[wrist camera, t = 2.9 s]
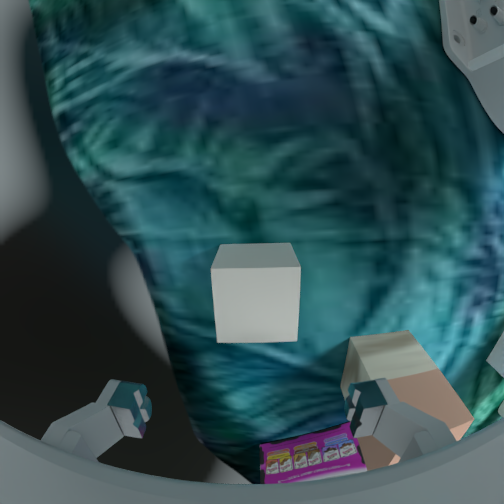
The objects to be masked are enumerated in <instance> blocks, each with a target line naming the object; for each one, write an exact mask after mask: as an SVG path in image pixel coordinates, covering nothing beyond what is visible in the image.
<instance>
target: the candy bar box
mask: <svg viewBox="0 0 504 504" xmlns="http://www.w3.org/2000/svg"><path fill="white" fill-rule="evenodd" d="M350 423H351V422H347V423H344V424H341V425H338V426H334V427H331V428H328V429H324V430H320V431H317V432H313V433H309V434H306V435H302V436H297V437H293V438H289V439H285V440H280V441H275V442H270V443H265V444H260V482H261V484H279V483H293V482H304V481H313V480H321V479H328V478H334V477H340V476H345V475H351V474H356V473H360V472H365V471H367V468H366V464H365V461H364V458H363V455H362V451H361V448H360V445H359V442H358V439H357V438H353V436H352V433H351V430H350V427H349V426H350Z"/></svg>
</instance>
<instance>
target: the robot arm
mask: <svg viewBox="0 0 504 504" xmlns="http://www.w3.org/2000/svg"><path fill="white" fill-rule="evenodd" d="M439 5H440V13H441V24H442V38H443V47H444V50H445V52H446V54H447V55H448V57H449V58H450V59H451V60H452V61H453V63H454V64H455V65H456V66H457V67H458V68H459V69H460V70H461V71H462V72H463V73H464V74H465V75H466V77H467V78H468V80H469V81H470V83H471V85H472V87H473V89H474V91H475V93H476V95H477V96H478V98H479V100H480V102H481V104H482V106H483V107H484V109H485V111H486V112H487V114H488V115H489V117H490V118H491V120H492V121H493V122H494V124H495V125H496V126H497V127H498V128H499V129H500V131H501V132H502V133H503V134H504V0H439ZM348 392H349V396H348V397H346V400H345V415H346V418H347V419H348V420H349V421H351V423H350V426H349V427H350V430H351V433H352V436H353V438H358V437H364V436H370V435H373V436H374V437H375V438H376V439H377V440H379V441H380V442H381V443H382V444H384V445H385V446H386V447H387V448H389V449H390V450H391V451H393V452H394V453H395V454H396V455H398V456H399V457H400V460H399V462H398V463H396V464H392V465H389V466H385V467H381V468H377V469H373V470H369V471H365V472H360V473H356V474H351V475H345V476H340V477H334V478H328V479H321V480H313V481H304V482H293V483H279V484H218V483H203V482H194V481H184V480H177V479H169V478H163V477H157V476H152V475H147V474H142V473H137V472H133V471H128V470H124V469H120V468H116V467H113V466H109V465H105V464H102V463H99V462H98V460H97V459H96V458H97V457H98V456H99V455H101V454H102V453H103V452H105V451H106V450H107V449H108V448H109V447H111V446H112V445H113V444H115V443H116V442H117V441H118V440H120V438H122V437H123V435H125V436H130V437H136V438H143V435H144V432H145V430H146V425H145V422H146V421H148V420H149V419H150V416H151V410H152V407H151V401H150V399H149V398H148V397H147V396H146V393H147V389H146V386H145V385H143V384H139V383H132V382H126V381H119V380H114V379H111V380H110V381H109V382H108V383H107V385H106V387H105V388H104V390H103V391H102V393H101V395H100V396H99V398H98V400H97V401H96V403H91V404H89V405H87V406H85V407H83V408H81V409H79V410H77V411H75V412H73V413H71V414H69V415H67V416H65V417H63V418H61V419H59V420H57V421H55V422H53V423H52V424H51V425H50V427H49V428H48V430H47V432H46V433H45V435H44V436H43V438H42V439H41V441H40V440H38V439H35V438H33V437H31V436H29V435H27V434H25V433H23V432H21V431H19V430H17V429H15V428H13V427H11V426H9V425H8V424H6V423H4V422H2V421H0V504H504V417H503V418H501V419H500V420H498V421H496V422H494V423H493V424H491V425H489V426H487V427H485V428H483V429H481V430H479V431H477V432H475V433H473V434H471V435H469V436H467V437H465V438H463V439H461V440H459V441H456V439H455V437H454V436H453V434H452V433H451V431H450V429H449V428H448V426H447V425H446V423H445V422H443V421H441V420H439V419H437V418H435V417H433V416H431V415H429V414H427V413H425V412H423V411H421V410H419V409H417V408H415V407H413V406H411V405H409V404H407V403H405V402H400V401H399V399H398V398H397V396H396V394H395V393H394V391H393V389H392V387H391V386H390V384H389V382H388V381H387V379H386V378H379V379H374V380H368V381H362V382H355V383H350V385H349V388H348Z"/></svg>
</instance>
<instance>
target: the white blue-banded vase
mask: <svg viewBox="0 0 504 504" xmlns="http://www.w3.org/2000/svg"><path fill="white" fill-rule="evenodd" d="M498 413H499V414H500V415H501V417H502V418H503V417H504V401H503V402H502V403H501V405H500V407H499V409H498Z"/></svg>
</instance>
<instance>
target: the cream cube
mask: <svg viewBox="0 0 504 504" xmlns="http://www.w3.org/2000/svg"><path fill="white" fill-rule="evenodd" d="M211 280H212V292H213V303H214V314H215V324H216V334H217V343H263V342H291V341H297V335H298V319H299V301H300V280H301V266H300V263H299V261H298V259H297V257H296V254H295V252H294V250H293V248H292V246H291V243H258V244H220V246H219V249H218V251H217V254H216V256H215V259H214V262H213V264H212V267H211Z"/></svg>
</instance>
